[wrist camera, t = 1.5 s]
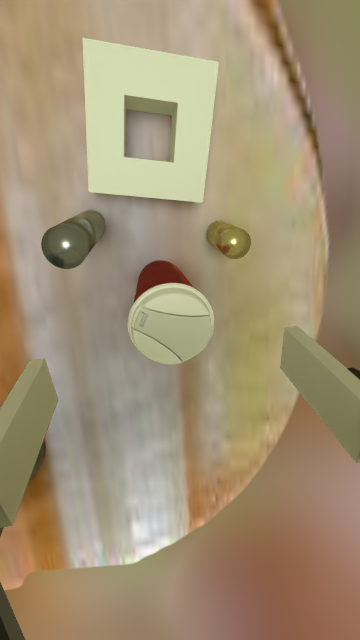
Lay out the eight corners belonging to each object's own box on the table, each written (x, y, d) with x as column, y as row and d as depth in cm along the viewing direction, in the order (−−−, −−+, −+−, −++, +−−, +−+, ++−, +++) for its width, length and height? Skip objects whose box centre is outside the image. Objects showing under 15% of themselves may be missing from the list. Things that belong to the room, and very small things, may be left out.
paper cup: (121, 296, 37) (113, 353, 24) (144, 241, 34) (149, 273, 22) (175, 317, 39) (194, 379, 26) (201, 267, 36) (235, 309, 24)
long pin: (79, 236, 33) (44, 267, 20) (77, 209, 32) (39, 223, 19) (105, 238, 33) (87, 269, 21) (105, 211, 32) (85, 227, 20)
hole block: (95, 191, 31) (88, 191, 27) (91, 62, 27) (82, 37, 22) (193, 200, 33) (202, 202, 28) (205, 81, 28) (218, 62, 24)
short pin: (205, 245, 35) (219, 258, 29) (208, 219, 34) (224, 227, 28) (228, 246, 36) (247, 259, 30) (232, 221, 35) (253, 229, 28)
